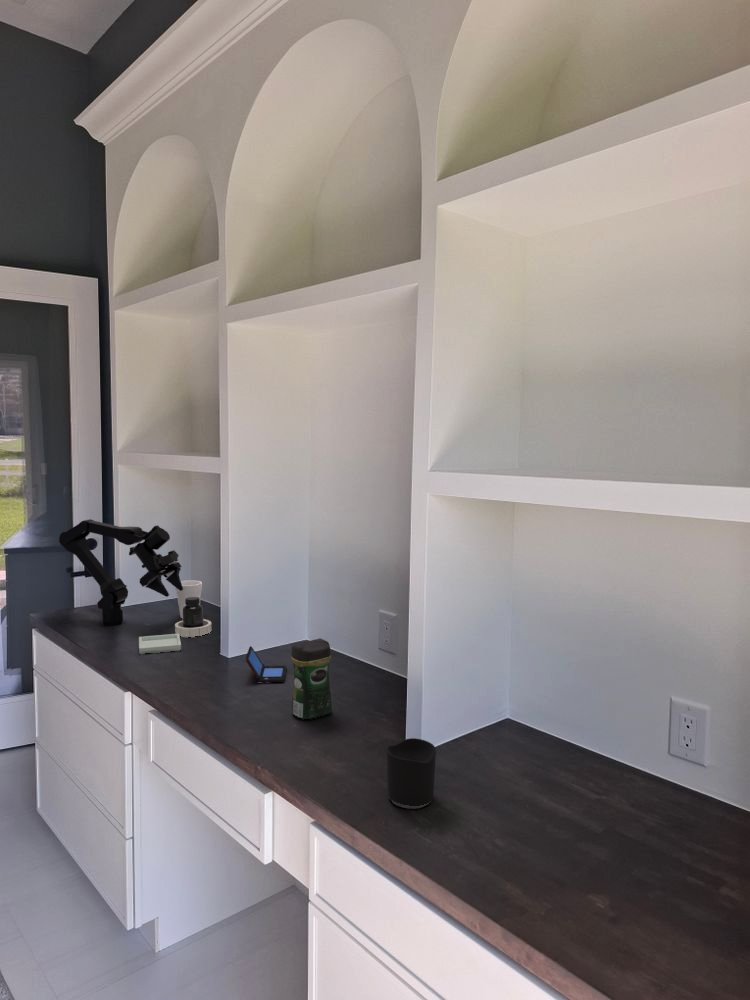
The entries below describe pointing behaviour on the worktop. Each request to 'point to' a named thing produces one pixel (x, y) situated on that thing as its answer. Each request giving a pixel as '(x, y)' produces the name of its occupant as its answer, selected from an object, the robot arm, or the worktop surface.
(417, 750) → the pen holder
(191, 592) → the foam cup
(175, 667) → the worktop surface
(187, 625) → the supplement bottle
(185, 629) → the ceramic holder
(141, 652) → the sage tray
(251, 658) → the handheld game console
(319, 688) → the coffee jar
